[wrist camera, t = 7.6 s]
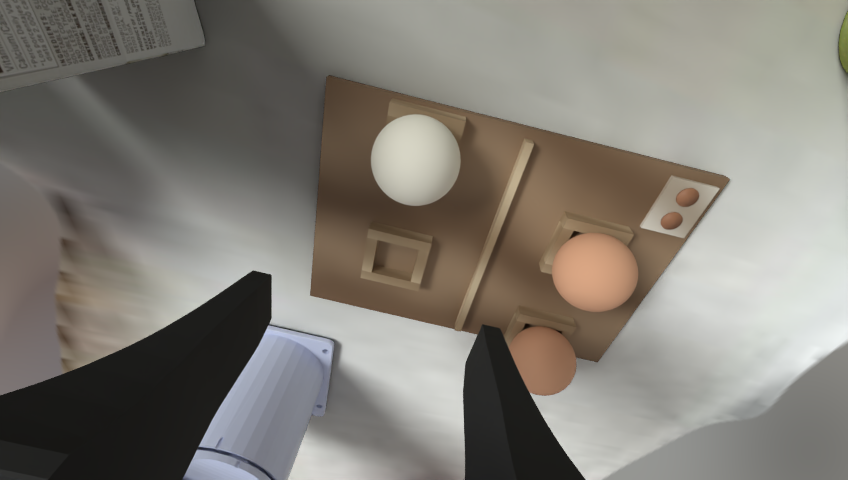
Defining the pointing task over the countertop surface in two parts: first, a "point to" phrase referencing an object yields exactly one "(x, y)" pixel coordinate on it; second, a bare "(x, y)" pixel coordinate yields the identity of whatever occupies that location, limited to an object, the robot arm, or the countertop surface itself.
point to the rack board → (490, 220)
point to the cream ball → (415, 160)
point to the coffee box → (89, 36)
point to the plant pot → (844, 44)
